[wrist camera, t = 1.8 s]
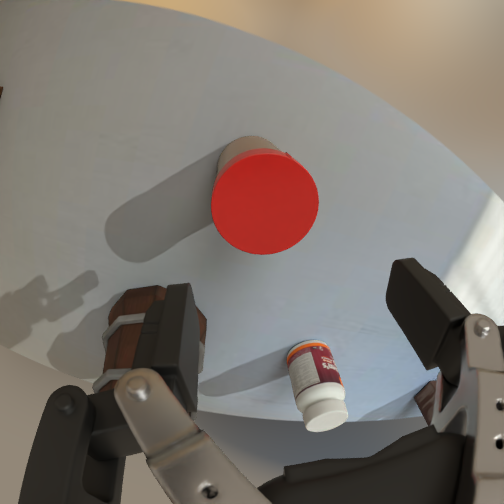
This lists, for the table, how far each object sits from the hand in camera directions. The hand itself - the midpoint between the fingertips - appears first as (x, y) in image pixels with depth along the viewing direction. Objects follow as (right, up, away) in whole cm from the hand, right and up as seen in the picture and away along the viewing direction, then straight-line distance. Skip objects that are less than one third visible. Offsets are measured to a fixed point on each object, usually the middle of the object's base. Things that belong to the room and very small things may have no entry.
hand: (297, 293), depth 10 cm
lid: (-1, +4, +8) cm, 9 cm away
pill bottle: (+6, -12, +29) cm, 32 cm away
